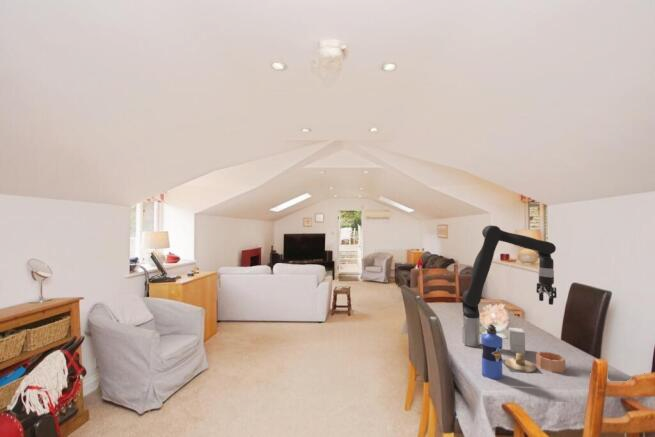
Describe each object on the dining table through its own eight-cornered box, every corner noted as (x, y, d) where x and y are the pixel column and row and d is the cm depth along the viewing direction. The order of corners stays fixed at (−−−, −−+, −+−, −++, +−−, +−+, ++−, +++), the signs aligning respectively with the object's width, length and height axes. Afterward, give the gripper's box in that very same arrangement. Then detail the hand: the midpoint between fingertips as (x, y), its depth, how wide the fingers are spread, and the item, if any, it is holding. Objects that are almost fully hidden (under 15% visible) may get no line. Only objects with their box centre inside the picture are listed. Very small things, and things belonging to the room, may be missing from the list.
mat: (510, 372, 166) (510, 371, 166) (499, 360, 181) (499, 359, 181) (543, 374, 164) (543, 373, 164) (529, 361, 179) (529, 360, 179)
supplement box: (522, 349, 195) (522, 328, 196) (525, 354, 188) (525, 332, 188) (508, 348, 198) (508, 327, 198) (510, 352, 191) (510, 331, 191)
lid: (511, 371, 166) (511, 359, 166) (501, 359, 180) (500, 348, 180) (541, 373, 164) (541, 360, 164) (528, 361, 178) (528, 349, 178)
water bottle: (477, 373, 165) (477, 323, 166) (490, 370, 169) (490, 321, 169) (493, 381, 157) (492, 329, 157) (507, 378, 161) (506, 326, 161)
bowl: (544, 372, 166) (543, 360, 166) (532, 362, 178) (532, 351, 178) (569, 373, 165) (569, 361, 165) (556, 363, 176) (556, 352, 176)
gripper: (532, 273, 203) (532, 299, 203) (548, 277, 189) (547, 305, 189) (544, 273, 203) (544, 299, 203) (561, 277, 189) (560, 305, 189)
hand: (546, 302), depth 196 cm, fingers open, 8 cm apart
